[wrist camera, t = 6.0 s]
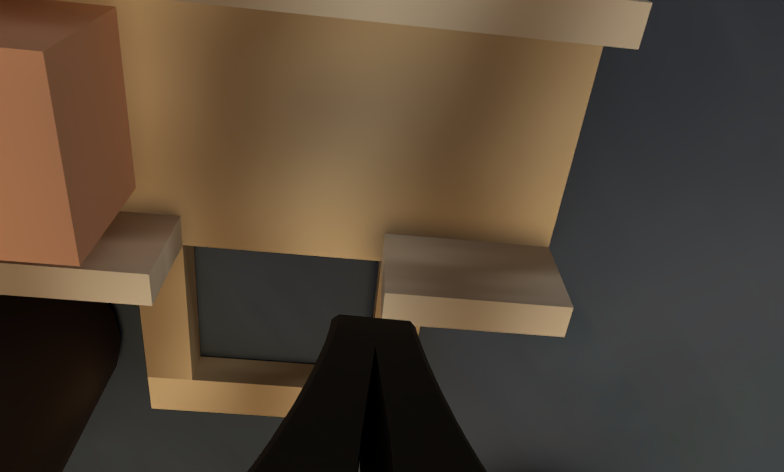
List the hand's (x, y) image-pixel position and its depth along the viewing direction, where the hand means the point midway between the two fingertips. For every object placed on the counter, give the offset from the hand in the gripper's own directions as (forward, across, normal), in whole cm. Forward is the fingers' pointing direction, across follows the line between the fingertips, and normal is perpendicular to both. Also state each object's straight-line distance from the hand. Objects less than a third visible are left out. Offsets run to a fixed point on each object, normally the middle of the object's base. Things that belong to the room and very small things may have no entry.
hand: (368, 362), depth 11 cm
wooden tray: (+9, +3, +3) cm, 10 cm away
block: (+8, +9, -1) cm, 12 cm away
